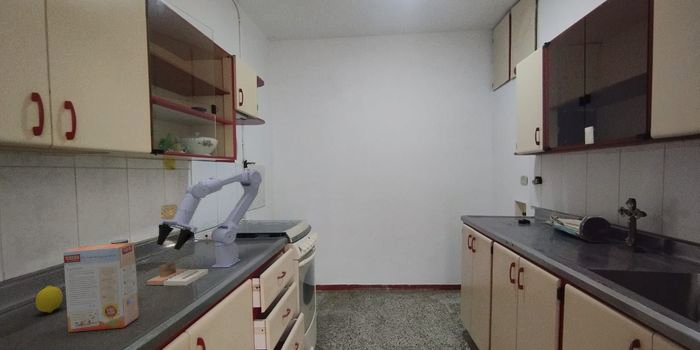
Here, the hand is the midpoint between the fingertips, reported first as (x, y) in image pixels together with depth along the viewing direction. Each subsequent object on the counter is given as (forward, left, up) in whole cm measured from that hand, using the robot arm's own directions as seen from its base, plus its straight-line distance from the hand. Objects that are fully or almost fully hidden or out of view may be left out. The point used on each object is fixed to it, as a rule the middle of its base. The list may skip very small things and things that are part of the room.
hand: (167, 247), depth 103 cm
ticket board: (-3, +4, -13) cm, 14 cm away
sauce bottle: (+18, 0, -13) cm, 22 cm away
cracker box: (+28, +6, -13) cm, 32 cm away
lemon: (+23, -20, -13) cm, 33 cm away
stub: (-3, -4, -13) cm, 14 cm away
